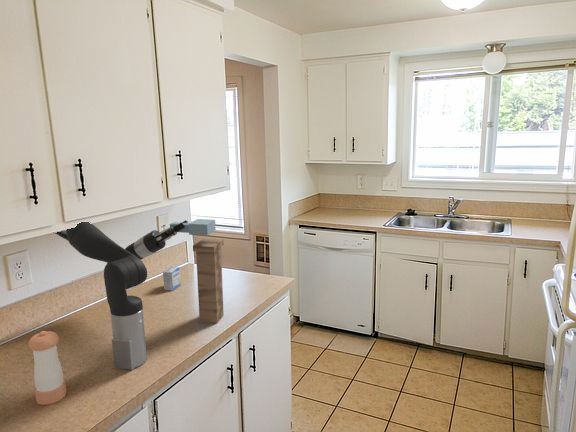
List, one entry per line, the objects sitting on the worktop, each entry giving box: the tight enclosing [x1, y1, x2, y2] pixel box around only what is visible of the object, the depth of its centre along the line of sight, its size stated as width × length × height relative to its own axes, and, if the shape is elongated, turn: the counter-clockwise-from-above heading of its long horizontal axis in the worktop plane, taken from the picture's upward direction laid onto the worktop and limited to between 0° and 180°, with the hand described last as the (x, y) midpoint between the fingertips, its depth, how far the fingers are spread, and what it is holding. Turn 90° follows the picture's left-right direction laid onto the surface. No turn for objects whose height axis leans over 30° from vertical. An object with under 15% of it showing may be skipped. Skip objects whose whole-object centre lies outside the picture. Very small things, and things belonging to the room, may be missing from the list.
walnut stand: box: [192, 238, 225, 324], centre depth 158 cm, size 10×8×30 cm
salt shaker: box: [28, 330, 67, 406], centre depth 113 cm, size 7×7×19 cm
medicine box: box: [162, 266, 182, 292], centre depth 192 cm, size 8×4×9 cm, turn 168°
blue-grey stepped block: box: [169, 218, 216, 236], centre depth 155 cm, size 8×16×4 cm, turn 79°
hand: (185, 223), depth 155 cm, fingers closed on blue-grey stepped block, 3 cm apart
